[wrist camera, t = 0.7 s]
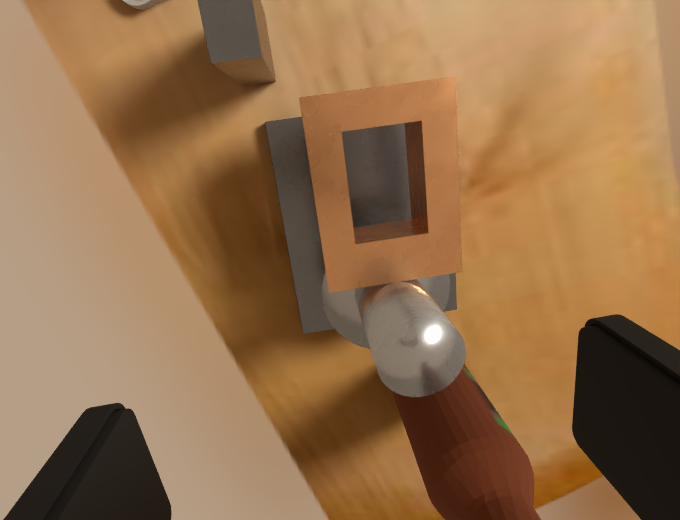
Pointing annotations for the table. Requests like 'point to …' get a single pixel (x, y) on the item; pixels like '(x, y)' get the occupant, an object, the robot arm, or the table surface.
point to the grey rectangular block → (238, 39)
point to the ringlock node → (377, 224)
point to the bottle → (468, 454)
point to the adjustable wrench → (142, 3)
